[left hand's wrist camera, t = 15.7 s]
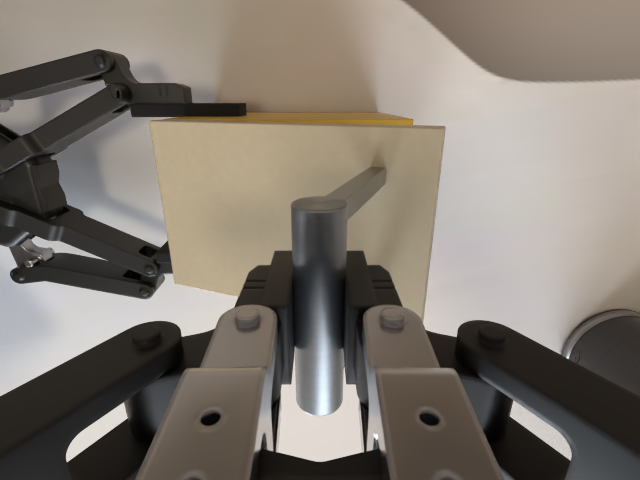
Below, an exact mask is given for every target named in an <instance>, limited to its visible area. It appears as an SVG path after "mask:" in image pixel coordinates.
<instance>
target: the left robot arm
mask: <svg viewBox="0 0 640 480" xmlns="http://www.w3.org/2000/svg"><path fill="white" fill-rule="evenodd" d="M294 351H295V329H294V294H293V267H292V250H275V251H274V255H273V258H272V261H271V265H258V266H256V267H255V268H254V269H252V270H251V271H250V272H249V273H248V275H247V278H246V280H245V283H244V285H243V289H242V290H241V292H240V295H239V297H238V300H237V302H236V305H235V307H234V308H233V309H230V310H228V311H227V312H225V313H224V314H223V315H222V316H221V317H220V318H219V320H218V323H217V325H216V328H215V329H213V330H211V331H208V332H204V333H200V334H195V335H190V336H185V337H182V336H181V330H180V328H179V327H178V326H177V325H176V324H174V323H171V322H166V321H153V322H147V323H143V324H139V325H137V326H134V327H132V328H130V329H128V330H126V331H124V332H122V333H120V334H118V335H116V336H114V337H112V338H111V339H109V340H107V341H105V342H103V343H101V344H99V345H97V346H95V347H93V348H92V349H90V350H88V351H86V352H84V353H82V354H80V355H78V356H76V357H74V358H73V359H71V360H69V361H67V362H65V363H63V364H61V365H59V366H57V367H55V368H54V369H52V370H50V371H48V372H46V373H44V374H42V375H40V376H38V377H36V378H34V379H33V380H31V381H29V382H27V383H25V384H23V385H21V386H19V387H17V388H15V389H14V390H12V391H10V392H8V393H6V394H4V395H2V396H0V480H640V314H639V313H637V312H633V311H628V310H615V311H609V312H605V313H602V314H599V315H597V316H595V317H593V318H591V319H589V320H587V321H586V322H584V323H583V324H582V325H580V326H579V327H578V328H577V329H576V330H575V331H574V332H573V333H572V334H571V336H570V337H569V339H568V340H567V342H566V344H565V346H564V349H563V353H562V355H560V354H558V353H556V352H554V351H552V350H550V349H548V348H547V347H545V346H543V345H541V344H539V343H537V342H535V341H533V340H531V339H529V338H528V337H526V336H524V335H522V334H520V333H518V332H516V331H514V330H512V329H510V328H508V327H506V326H504V325H501V324H498V323H495V322H490V321H483V320H474V321H468V322H465V323H463V324H462V325H461V326H460V327H459V328H458V333H457V337H453V336H448V335H442V334H437V333H433V332H430V331H427V330H425V328H424V325H423V322H422V320H421V318H420V317H419V316H418V315H417V314H416V313H415V312H413V311H412V310H410V309H407V308H405V307H403V306H402V303H401V301H400V298H399V296H398V293H397V291H396V289H395V286H394V283H393V282H392V278H391V276H390V273H389V272H388V271H387V270H386V269H384V268H383V267H382V266H380V265H367V262H366V258H365V255H364V251H363V250H347V257H346V277H345V295H344V333H343V352H344V363H345V374H346V384H356V389H357V395H358V397H359V419H360V432H361V445H362V453H358V454H354V455H350V456H346V457H342V458H338V459H334V460H330V461H325V462H315V461H310V460H306V459H302V458H298V457H294V456H290V455H286V454H282V453H278V445H279V432H280V419H281V384H291V381H292V371H293V361H294ZM513 400H514V401H516V402H517V403H518V404H520V405H521V406H523V407H524V408H526V409H527V410H529V411H530V412H532V413H533V414H535V415H536V416H537V417H539V418H540V419H542V420H543V421H545V422H546V423H548V424H549V425H551V426H552V427H553V428H555V429H556V430H557V431H559V432H560V433H561V434H562V435H563V437H564V438H565V439H566V440H567V442H568V444H569V446H570V448H571V452H572V458H571V461H570V460H569V459H567V458H566V457H564V456H563V455H562V454H560V453H559V452H558V451H556V450H555V449H554V448H552V447H551V446H549V445H548V444H547V443H545V442H544V441H543V440H541V439H540V438H538V437H537V436H536V435H534V434H533V433H532V432H530V431H529V430H527V429H526V428H525V427H523V426H522V425H521V424H519V423H518V422H517V421H515V420H514V419H512V418H511V417H510V412H511V408H512V403H513ZM123 402H124V404H125V408H126V412H127V417H128V419H126V420H125V421H123V422H122V423H121V424H119V425H118V426H117V427H115V428H114V429H113V430H111V431H110V432H108V433H107V434H106V435H104V436H103V437H102V438H100V439H99V440H97V441H96V442H95V443H93V444H92V445H91V446H89V447H88V448H86V449H85V450H84V451H82V452H81V453H80V454H78V455H77V456H76V457H74V458H73V459H71V460H70V461H69V462H66V452H67V449H68V447H69V445H70V443H71V442H72V440H73V439H74V438H75V437H76V435H78V434H79V433H80V432H81V431H82V430H84V429H85V428H87V427H88V426H89V425H91V424H92V423H94V422H95V421H97V420H98V419H100V418H101V417H103V416H104V415H105V414H107V413H108V412H110V411H111V410H113V409H114V408H116V407H117V406H119V405H120V404H122V403H123Z"/></svg>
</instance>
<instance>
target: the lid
mask: <svg viewBox="0 0 640 480" xmlns="http://www.w3.org/2000/svg"><path fill="white" fill-rule="evenodd" d="M150 128H151V135H152V141H153V147H154V154H155V160H156V167H157V173H158V179H159V186H160V192H161V199H162V205H163V211H164V218H165V224H166V231H167V237H168V244H169V250H170V256H171V263H172V269H173V276H174V282H175V284H179V285H184V286H189V287H194V288H198V289H203V290H208V291H213V292H217V293H222V294H227V295H232V296H236V297H239V295H240V292H241V290H242V289H243V285H244V283H245V280H246V278H247V275H248V273H249V272H250V271H251V270H252V269H254V268H255V267H256V266H258V265H271V261H272V258H273V255H274V251H275V250H292V267H293V294H294V329H295V370H296V400H297V404H298V405H299V407H300V408H301V409H302V410H303V411H304V412H306V413H308V414H310V415H314V416H325V415H329V414H331V413H333V412H335V411H336V410H337V409H338V408H339V407H340V405H341V403H342V399H343V369H344V367H345V363H344V352H343V333H344V295H345V277H346V257H347V250H363V251H364V255H365V258H366V262H367V265H380V266H382V267H383V268H384V269H386V270H387V271H388V272H389V273H390V276H391V278H392V282H393V283H394V286H395V289H396V291H397V293H398V296H399V298H400V301H401V303H402V306H403V307H405V308H407V309H410V310H412V311H413V312H415V313H416V314H417V315H418V316H419V317H420V318H421V320H422V322H423V319H424V310H425V302H426V293H427V284H428V276H429V267H430V258H431V250H432V241H433V232H434V224H435V215H436V207H437V198H438V189H439V181H440V172H441V163H442V155H443V146H444V137H445V129H446V127H445V126H418V125H376V124H334V123H291V122H249V121H206V120H152V121H150Z"/></svg>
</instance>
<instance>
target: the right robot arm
mask: <svg viewBox="0 0 640 480" xmlns="http://www.w3.org/2000/svg"><path fill="white" fill-rule="evenodd" d="M129 68H130V64H129V61H128V59H127V58H126V57H125V56H124V55H121V54H118V53H114V52H109V51H105V50H101V49H96V50H92V51H88V52H84V53H81V54H77V55H73V56H70V57H66V58H62V59H58V60H55V61H51V62H47V63H43V64H40V65H36V66H32V67H28V68H25V69H21V70H17V71H13V72H10V73H6V74H2V75H0V113H2V112H7V111H8V110H9V109H10V107H12V106H13V105H14V102H13V100H25V99H31V98H35V97H39V96H43V95H47V94H51V93H54V92H58V91H62V90H66V89H70V88H74V87H77V86H81V85H85V84H89V83H93V82H96V81H100V80H104V81H105V85H106V86H107V87H106V88H104V89H102V90H101V91H99V92H97V93H96V94H94V95H92V96H91V97H89V98H87V99H86V100H84V101H82V102H81V103H79V104H77V105H76V106H74V107H72V108H71V109H69V110H67V111H66V112H64V113H63V114H61V115H59V116H58V117H56V118H54V119H53V120H51V121H49V122H48V123H46V124H44V125H43V126H41V127H39V128H38V129H36V130H34V131H33V132H31V133H28V134H25V135H23V136H20V135H18V134H17V133H15V132H13V131H12V130H10V129H9V128H7V127H5V126H4V125H2V124H0V245H2V246H6V247H9V248H10V250H11V252H12V255H13V257H14V259H15V261H16V263H17V266H18V267H16V268H14V269H13V270H12V271H11V272H10V276H11V278H12V280H13V281H15V282H16V283H19V284H24V283H32V282H41V281H48V282H54V283H59V284H65V285H70V286H75V287H81V288H86V289H92V290H97V291H102V292H108V293H113V294H119V295H124V296H130V297H135V298H140V299H149V298H150V297H151V296H152V295H153V294H154V293H155V292H156V290H157V289H158V288H159V287H160V285H161V284H162V283H163V282H164V279H165V276H164V274H173V269H172V263H171V256H170V250H169V244H168V241H167V242H166V243H165V244H164V245H163V246H162V247H161V248H160V247H158V246H155V245H153V244H150V243H148V242H146V241H143V240H141V239H139V238H136V237H134V236H132V235H129V234H127V233H125V232H122V231H120V230H117V229H115V228H113V227H110V226H108V225H106V224H103V223H101V222H99V221H96V220H94V219H91V218H89V217H87V216H85V215H84V214H83V212H82V211H81V210H79V209H76V208H74V207H72V206H69V205H67V201H66V197H65V193H64V191H63V189H62V188H61V186H60V184H59V169H58V165H57V161H56V160H52V159H51V157H52V156H54V155H56V154H57V153H59V152H61V151H63V150H64V149H66V148H67V147H68V145H70V144H72V143H73V142H75V141H77V140H79V139H80V138H82V137H84V136H85V135H87V134H89V133H90V132H92V131H94V130H96V129H97V128H99V127H101V126H102V125H104V124H106V123H108V122H109V121H111V120H113V119H114V118H116V117H118V116H120V115H121V114H123V113H125V112H126V111H128V110H130V109H131V115H132V117H240V116H244V115H247V114H246V103H192V96H191V88H190V87H188V86H186V85H183V84H176V83H140V82H138V81H137V80H136V79H135V78H134V77H133V75H132V73H131V71H130V69H129ZM35 236H38V237H40V238H43V239H45V240H49V241H61V242H64V243H66V244H69V245H71V246H74V247H76V248H79V249H81V250H84V251H86V252H88V253H91V254H93V255H96V256H98V257H101V258H103V259H106V260H108V261H106V260H101V259H96V258H91V257H86V256H81V255H75V254H69V253H54V250H53V249H52V248H47V249H46V248H42V247H38V246H36V245H34V244H33V242H32V241H31V239H32V238H34V237H35Z"/></svg>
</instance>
